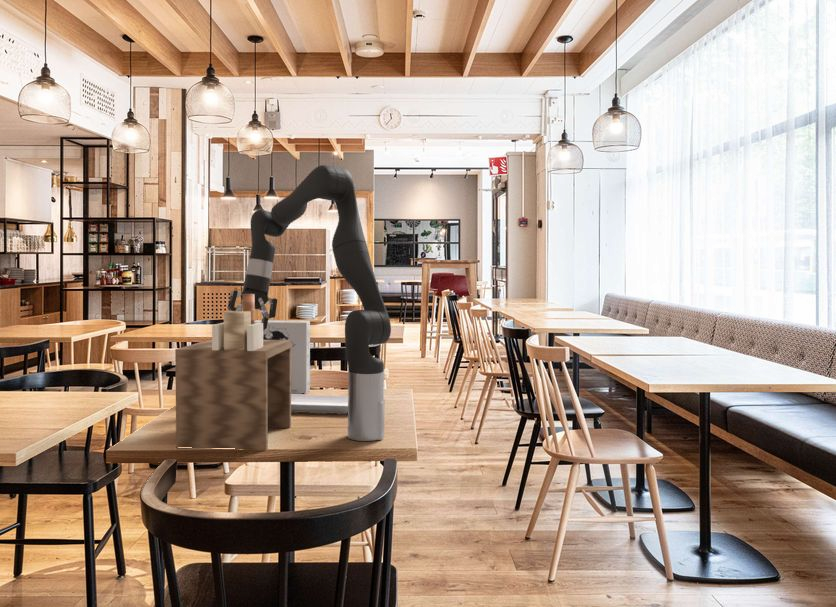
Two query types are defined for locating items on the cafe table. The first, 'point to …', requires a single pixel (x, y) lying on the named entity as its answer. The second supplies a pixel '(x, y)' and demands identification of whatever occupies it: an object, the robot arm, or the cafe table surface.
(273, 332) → the cereal box
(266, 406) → the open wooden cabinet
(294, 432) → the cafe table surface
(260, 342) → the upright cream panels
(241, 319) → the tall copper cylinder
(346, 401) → the tray
